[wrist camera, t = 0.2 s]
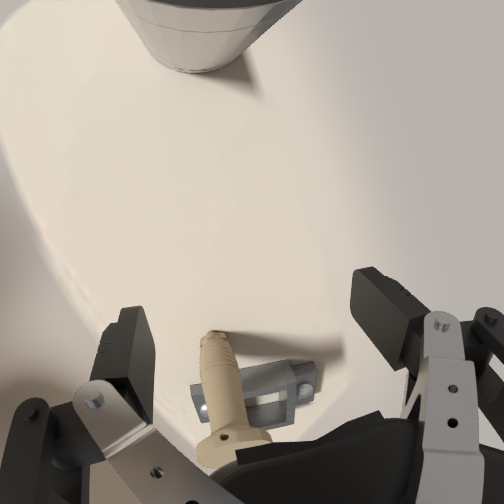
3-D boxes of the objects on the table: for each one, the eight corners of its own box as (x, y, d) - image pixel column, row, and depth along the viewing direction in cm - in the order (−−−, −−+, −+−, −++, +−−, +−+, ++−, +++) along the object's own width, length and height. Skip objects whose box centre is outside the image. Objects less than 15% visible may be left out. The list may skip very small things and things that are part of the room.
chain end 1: (187, 377, 36) (189, 401, 33) (278, 361, 38) (287, 384, 35) (202, 419, 41) (205, 440, 38) (279, 405, 43) (285, 425, 39)
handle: (179, 333, 33) (187, 454, 20) (233, 315, 33) (266, 433, 20) (196, 361, 35) (210, 472, 22) (246, 344, 36) (279, 454, 22)
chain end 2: (224, 371, 37) (229, 395, 33) (313, 353, 39) (324, 374, 35) (233, 414, 42) (238, 435, 38) (308, 397, 44) (317, 417, 40)
